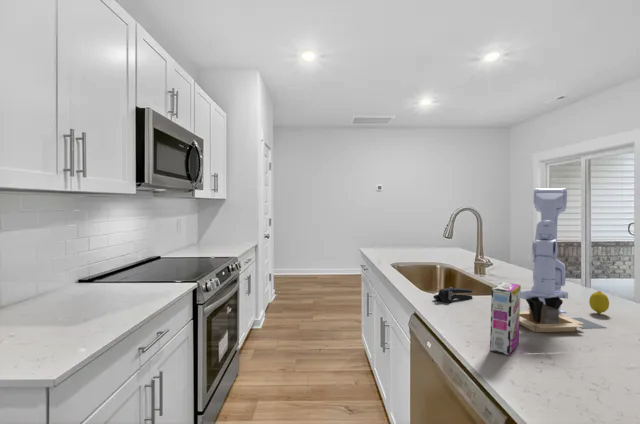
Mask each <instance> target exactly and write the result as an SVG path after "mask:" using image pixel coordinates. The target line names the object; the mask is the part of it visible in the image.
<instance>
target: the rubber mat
mask: <svg viewBox="0 0 640 424" xmlns="http://www.w3.org/2000/svg"><path fill="white" fill-rule="evenodd" d="M571 318H572V319H574V320H577V321H579V322H582V323H584V324H579V325H581V326H583V327H578V328H579V329H607V327H606V326H604V325H600V324H598V323H595V322H593V321H591V320H588V319H586V318H583V317H571Z"/></svg>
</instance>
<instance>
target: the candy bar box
mask: <svg viewBox="0 0 640 424" xmlns="http://www.w3.org/2000/svg"><path fill="white" fill-rule="evenodd" d="M521 286H522V285H521V284H517V283H511V282H510V283H509V282H500V283H499V284H498V285H496V286H494V287H492V288H491V305H490V307H491V308H490V335H489V336H490V338H489V339H490V340H489V341H490V342H489V343H490V344H489V351H490V352H494V353H498V354H502V355H504V356H505V355H506V356H510V355H511V353H513V351H514V350H515V349H516V347H517V346H518V344H519V342H520V324H519V317H520V311H521V298H520V292H521Z"/></svg>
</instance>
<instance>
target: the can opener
mask: <svg viewBox="0 0 640 424" xmlns="http://www.w3.org/2000/svg"><path fill="white" fill-rule="evenodd" d="M473 292H474V291H473V290H472V289H470V288H469V289H468V288H459V287H455V288H454V287H452V286H450V287H447V288H441V289H439V290H438V294H435V295H433V299H434V300H437V301H440V302H444V303H452V302H453V300H471V299H473V296H472V295H469V294H471V293H473Z"/></svg>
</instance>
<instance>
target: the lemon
mask: <svg viewBox="0 0 640 424" xmlns="http://www.w3.org/2000/svg"><path fill="white" fill-rule="evenodd" d="M588 301H589V302H588V303H589V307H590V308H591V310H593V311H594V312H595V313H596V314H598V315H601V314H602V313H605V312H606V311H608V309H610V308H609V307H610V300H609V298H608V295H606V294H605V293H603V292H602V291H601V290H600V291H596V292H592V293H591V295H590V297H589V300H588Z"/></svg>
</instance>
